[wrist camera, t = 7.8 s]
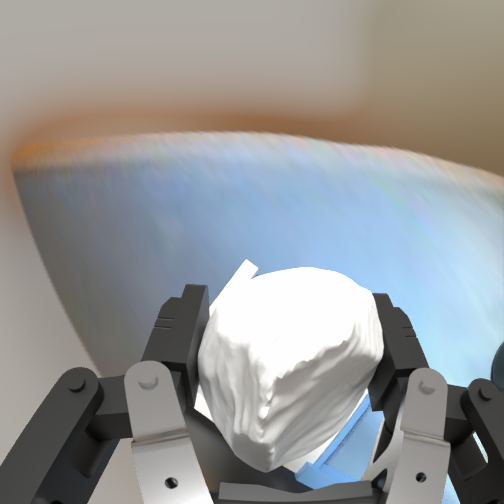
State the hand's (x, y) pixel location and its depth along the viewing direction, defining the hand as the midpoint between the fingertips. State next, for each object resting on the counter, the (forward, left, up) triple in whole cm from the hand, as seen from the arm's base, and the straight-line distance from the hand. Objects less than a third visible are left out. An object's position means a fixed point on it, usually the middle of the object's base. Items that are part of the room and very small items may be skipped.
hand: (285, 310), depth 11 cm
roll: (+1, +1, -6) cm, 6 cm away
